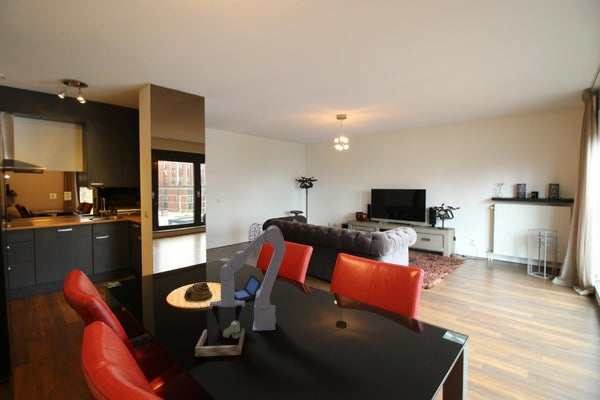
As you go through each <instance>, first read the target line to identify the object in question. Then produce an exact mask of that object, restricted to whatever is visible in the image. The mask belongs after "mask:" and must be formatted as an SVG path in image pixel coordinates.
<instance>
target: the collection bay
mask: <svg viewBox="0 0 600 400" xmlns="http://www.w3.org/2000/svg"><path fill="white" fill-rule="evenodd" d="M245 331H246V330H245V327H244V328H241V330H240V334H241V335H240V337H239V340H238V343H237V345H236V344H233V345H231V344H230V345H216V346H215V345H213V346H212V345H211V346H204V344H205V342H206V340H207V338H208V329H204V330H203V332H202V333H201V336H200V338H199V340H198V342H197V344H196V346H195V348H194V356H195V357H198V358H199V357H217V356H218V357H219V356H220V357H221V356H238V355H239V356H240V355H241V354H242V348H243V344H244V339H245V336H246V335H245V333H246V332H245Z"/></svg>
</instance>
